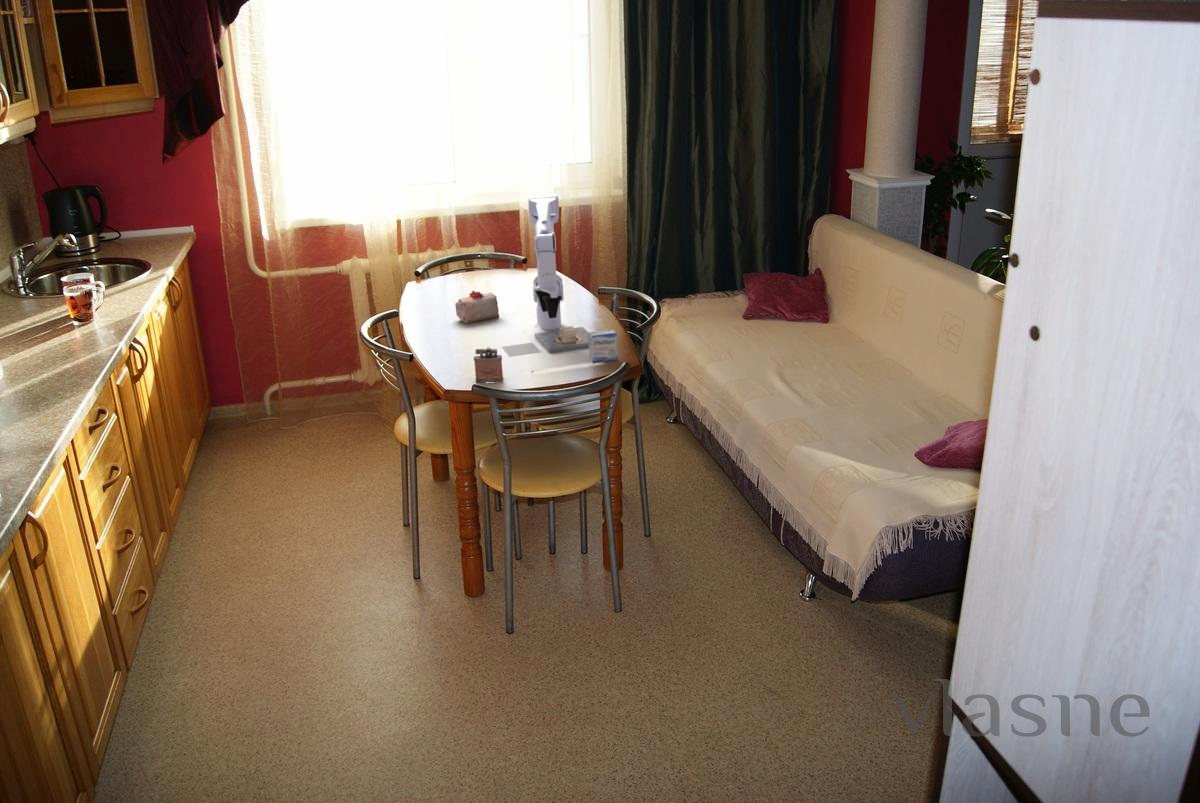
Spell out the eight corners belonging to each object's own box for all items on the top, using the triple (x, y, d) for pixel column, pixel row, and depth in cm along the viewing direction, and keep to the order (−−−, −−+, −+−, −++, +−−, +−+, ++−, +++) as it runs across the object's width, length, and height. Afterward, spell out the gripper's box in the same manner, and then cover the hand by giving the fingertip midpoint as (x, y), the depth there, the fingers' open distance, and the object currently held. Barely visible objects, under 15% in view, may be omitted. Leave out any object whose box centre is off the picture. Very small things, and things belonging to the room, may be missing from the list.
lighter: (504, 378, 292) (501, 345, 289) (503, 382, 289) (500, 349, 285) (476, 380, 292) (473, 347, 288) (475, 384, 289) (472, 351, 285)
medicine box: (592, 363, 302) (591, 335, 298) (588, 359, 306) (587, 331, 302) (618, 360, 304) (617, 332, 300) (613, 355, 308) (612, 328, 304)
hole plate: (535, 340, 323) (534, 333, 323) (582, 334, 328) (582, 326, 327) (549, 356, 309) (548, 347, 308) (598, 348, 314) (598, 340, 313)
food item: (464, 325, 342) (461, 297, 338) (455, 320, 348) (452, 292, 345) (501, 318, 348) (498, 290, 344) (491, 313, 354) (489, 286, 351)
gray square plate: (501, 349, 316) (501, 346, 316) (532, 345, 319) (532, 342, 319) (509, 359, 308) (509, 356, 307) (541, 354, 311) (541, 351, 310)
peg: (560, 345, 318) (559, 327, 316) (572, 344, 319) (571, 326, 317) (564, 349, 315) (563, 331, 312) (576, 347, 316) (575, 329, 314)
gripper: (528, 268, 318) (530, 310, 323) (540, 279, 305) (543, 322, 310) (549, 265, 320) (552, 307, 325) (563, 276, 307) (565, 319, 312)
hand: (549, 314), depth 318 cm, fingers open, 7 cm apart
